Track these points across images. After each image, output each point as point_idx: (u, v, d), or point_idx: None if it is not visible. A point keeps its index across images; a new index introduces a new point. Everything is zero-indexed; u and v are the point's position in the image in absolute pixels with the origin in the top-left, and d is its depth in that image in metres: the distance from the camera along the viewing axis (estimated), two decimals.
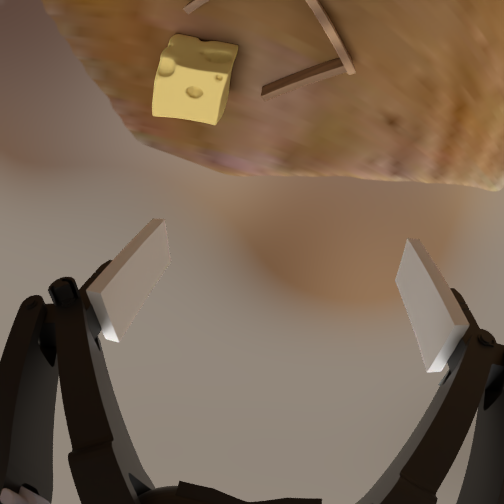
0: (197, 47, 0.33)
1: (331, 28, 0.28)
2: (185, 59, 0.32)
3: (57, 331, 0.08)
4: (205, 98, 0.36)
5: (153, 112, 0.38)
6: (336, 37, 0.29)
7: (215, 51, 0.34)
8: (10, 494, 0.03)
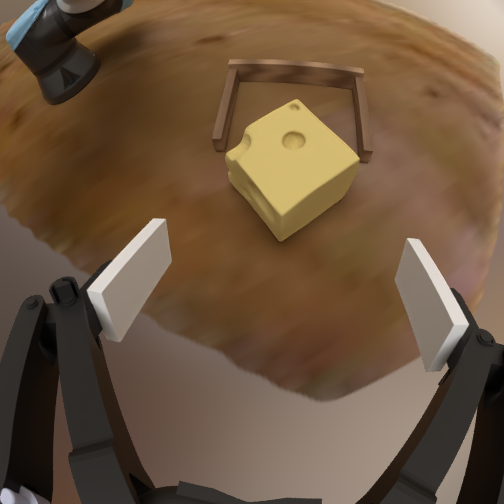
0: None
1: (311, 62, 0.36)
2: None
3: (58, 331, 0.08)
4: (310, 135, 0.27)
5: (277, 206, 0.25)
6: (321, 63, 0.36)
7: None
8: (10, 494, 0.03)
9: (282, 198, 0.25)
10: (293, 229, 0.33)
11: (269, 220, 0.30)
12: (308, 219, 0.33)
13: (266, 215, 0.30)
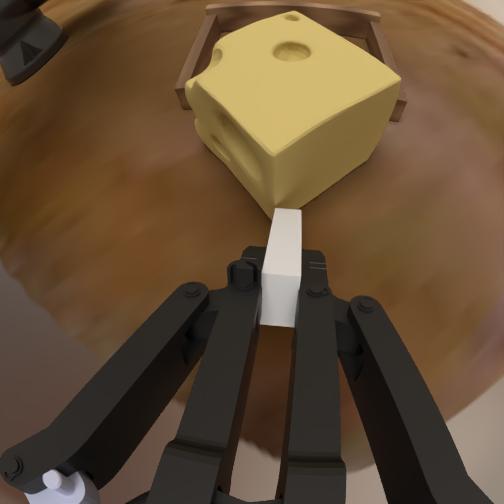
0: None
1: (312, 3, 0.24)
2: None
3: (220, 312, 0.09)
4: (319, 46, 0.14)
5: (264, 140, 0.12)
6: (325, 4, 0.24)
7: None
8: (58, 479, 0.04)
9: (274, 126, 0.12)
10: (296, 201, 0.20)
11: (254, 182, 0.17)
12: (319, 186, 0.20)
13: (249, 174, 0.18)
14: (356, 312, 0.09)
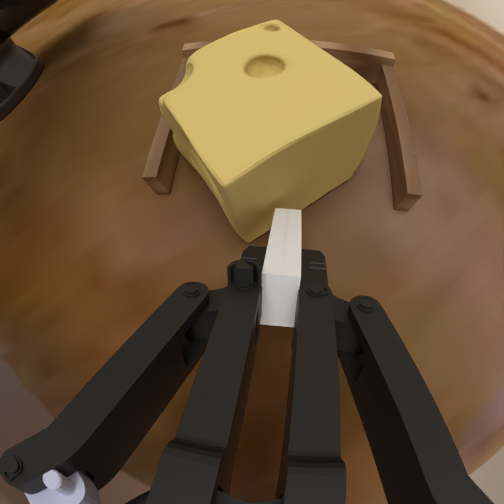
0: None
1: (312, 41, 0.22)
2: None
3: (220, 312, 0.09)
4: (294, 59, 0.14)
5: (216, 169, 0.12)
6: (328, 43, 0.21)
7: None
8: (58, 479, 0.04)
9: (229, 153, 0.12)
10: (267, 222, 0.20)
11: (221, 204, 0.17)
12: (294, 206, 0.20)
13: (217, 195, 0.17)
14: (356, 312, 0.09)
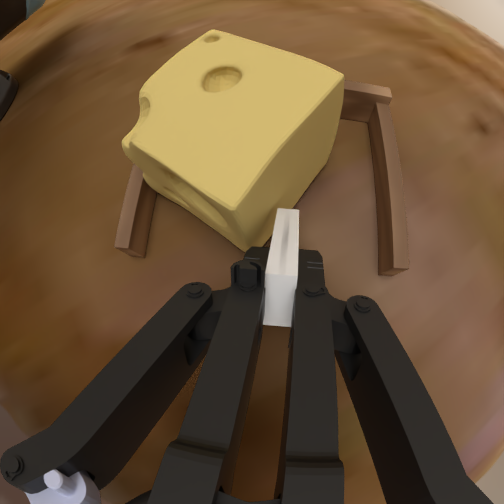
0: None
1: None
2: None
3: (223, 312, 0.09)
4: (248, 63, 0.14)
5: (219, 195, 0.12)
6: None
7: None
8: (59, 479, 0.04)
9: (225, 175, 0.12)
10: (268, 230, 0.19)
11: (221, 228, 0.17)
12: (287, 207, 0.20)
13: (214, 221, 0.17)
14: (353, 312, 0.09)
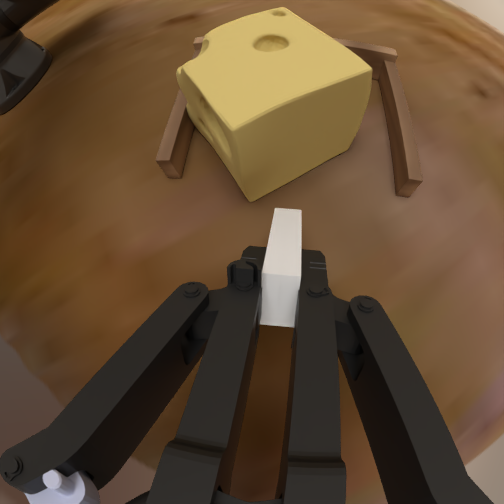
0: None
1: None
2: None
3: (220, 312, 0.09)
4: (297, 38, 0.15)
5: (226, 117, 0.13)
6: None
7: None
8: (58, 479, 0.04)
9: (237, 105, 0.14)
10: (269, 181, 0.21)
11: (228, 159, 0.19)
12: (294, 169, 0.21)
13: (225, 152, 0.19)
14: (356, 312, 0.09)
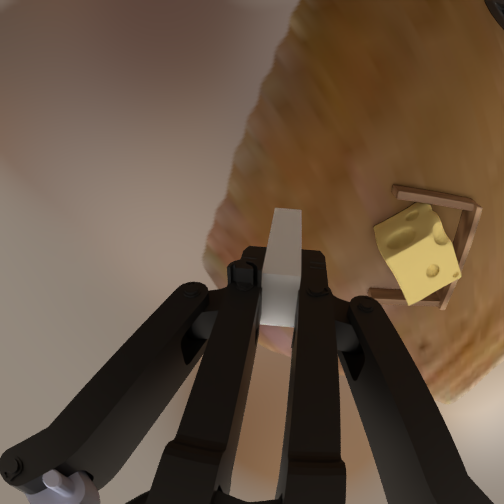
0: None
1: None
2: None
3: (220, 312, 0.09)
4: (432, 281, 0.36)
5: (391, 259, 0.35)
6: (456, 281, 0.42)
7: None
8: (58, 479, 0.04)
9: (396, 262, 0.35)
10: None
11: (387, 235, 0.39)
12: None
13: (391, 233, 0.39)
14: (356, 312, 0.09)
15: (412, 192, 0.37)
